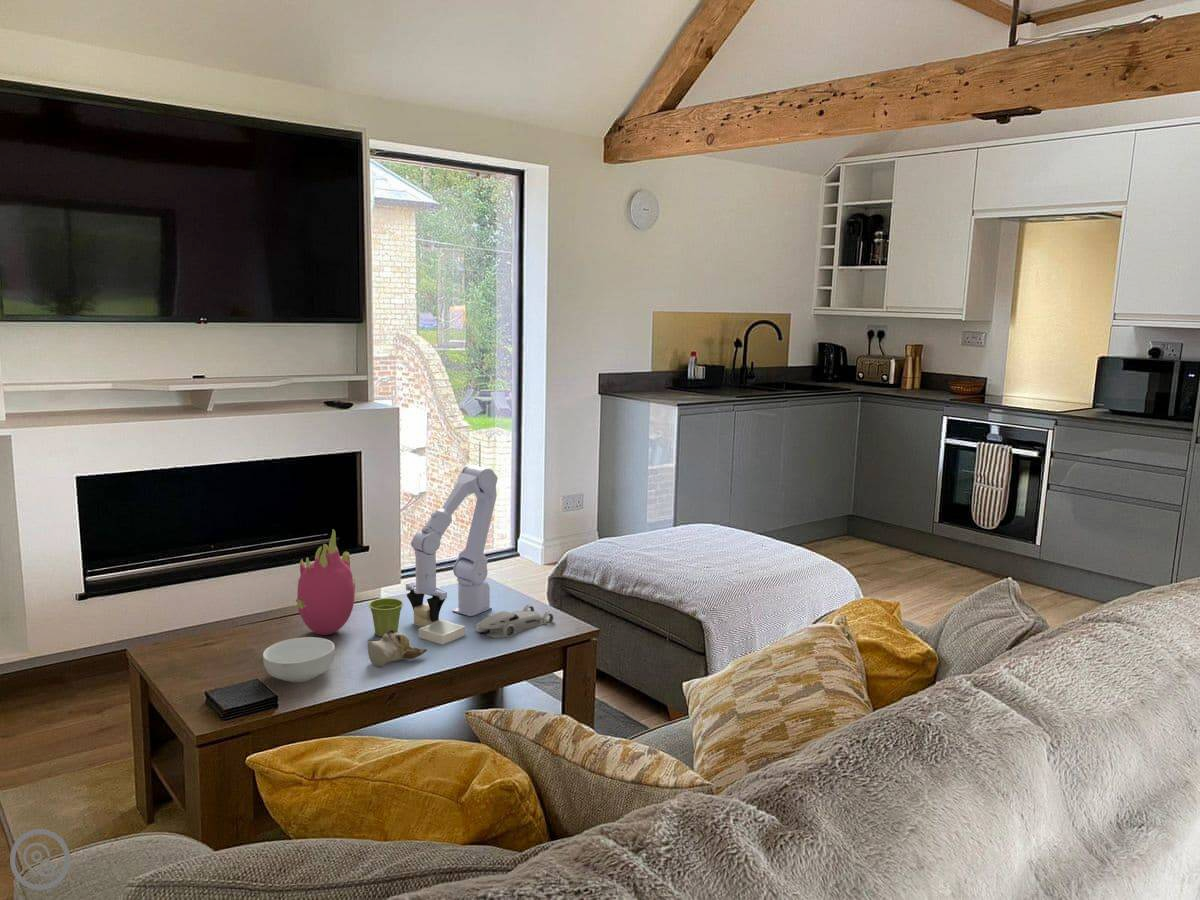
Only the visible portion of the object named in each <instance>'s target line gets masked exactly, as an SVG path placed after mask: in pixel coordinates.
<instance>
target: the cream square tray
mask: <svg viewBox="0 0 1200 900" xmlns="http://www.w3.org/2000/svg"><path fill="white" fill-rule="evenodd" d="M465 635H466V626H465V625H461V624H457V623H454V622H451V621H446V620H444V619H443V620H442V619H441V620H440V619H439V621H437V622H435V623H432V624H430V625H427V626H425V627H423V626H421V627H420V628H418V638H420V639H421V640H422V639H423V640H426V641H430V642H433V643H436V644H439V645H445V644H447V643H451V642H452V641H454V640H457V639H460V638H463V636H465Z"/></svg>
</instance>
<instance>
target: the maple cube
mask: <svg viewBox="0 0 1200 900" xmlns="http://www.w3.org/2000/svg"><path fill="white" fill-rule="evenodd" d="M439 618H440V617H439V616H438V620H436V621H434V622H432V621H431V618H430V608H429V604H428V602H425V603H423V604H422V605H419V606H416V607H414V611H413V624H414V625H417V626H420V627H425V626H427V625H430V624H432V623H435V622H437V621H440V619H439Z"/></svg>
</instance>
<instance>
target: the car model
mask: <svg viewBox="0 0 1200 900" xmlns="http://www.w3.org/2000/svg"><path fill="white" fill-rule="evenodd" d="M528 609H530V610H528ZM548 616H549V618H547V617H548ZM481 619H482V620H480V621H478V622H477V623H475V627H477V628H476V629H475V630H476V632H477V633H479V634H486V637H489V638H493V639H501V638H502V637H503V638H508V637H509V638H510V637H513V636H514V635H516V634H518V633H520V632H522V631H523V632H524V631H526V630H527V629H531V628H534V627H538V626H544V625H548V623H549V624H552V623H553V622H554V619H555V617H554V614H553V613H552V612H551V611H546V612H544V613H543V615H541V614H540V613H539V612H537V611H535V608H534V605H532V604H526V605H524V607H523V609H522V610H518V611H517V610H516V611H510V612H509V611H505V610H503V611H499V612H496V613H494V614H487V615H484V616H483V617H482V618H481Z"/></svg>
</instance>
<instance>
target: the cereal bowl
mask: <svg viewBox="0 0 1200 900" xmlns="http://www.w3.org/2000/svg"><path fill="white" fill-rule="evenodd" d="M335 651H336V650H335V644H334V642H333V641H331V640H329V639H327V638H323V637H314V636H307V637H295V638H289V639H285V640H282V641H278V642H276V643H274V644H271V645H270V646H268V647H266V648H265V650H264V651H263V653H262V661H263V665H264V669H265V670H266V672H267V673H268V674H269V675H270V676H271V677H273V678H275V679H279V680H281V681H282V680H283V681H286V682H288V681H289V683H302V682H308V681H311V680H314V679H315V678H316V677H317V676H318V675H321V674H323V673H324V672H326V671H327V670H329V668H330V667H331V666H332V664H333V662H334V659H335V654H336V653H335Z"/></svg>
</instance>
